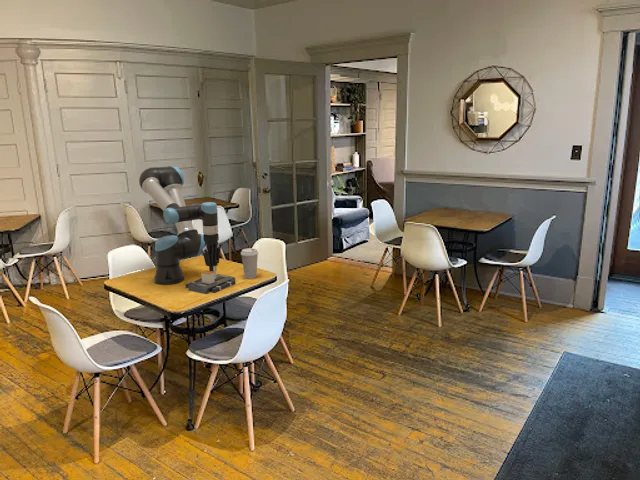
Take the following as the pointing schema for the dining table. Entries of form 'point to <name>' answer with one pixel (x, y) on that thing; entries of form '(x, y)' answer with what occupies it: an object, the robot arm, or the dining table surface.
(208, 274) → the lever
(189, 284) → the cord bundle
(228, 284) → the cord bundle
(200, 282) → the panel
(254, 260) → the coffee cup
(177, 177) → the robot arm
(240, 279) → the dining table surface
